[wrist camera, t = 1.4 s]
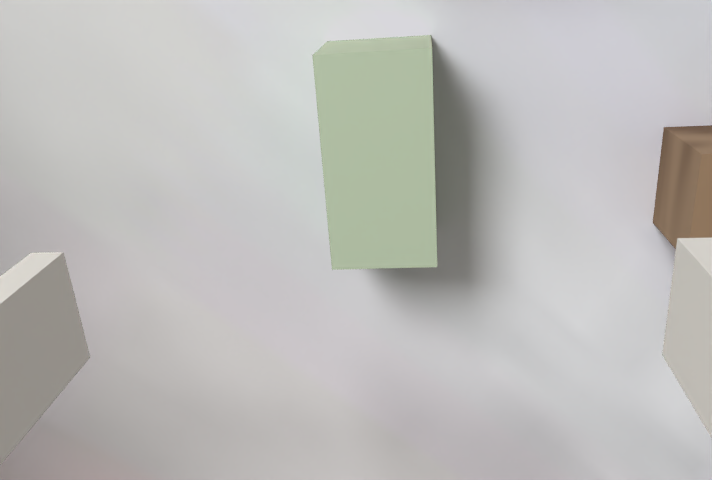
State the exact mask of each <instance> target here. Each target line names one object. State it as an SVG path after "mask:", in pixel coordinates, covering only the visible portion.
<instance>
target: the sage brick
mask: <svg viewBox="0 0 712 480" xmlns="http://www.w3.org/2000/svg"><path fill="white" fill-rule="evenodd" d="M313 66H314V77H315V88H316V99H317V110H318V120H319V131H320V142H321V153H322V164H323V175H324V186H325V197H326V208H327V219H328V230H329V241H330V252H331V263H332V270H333V269H377V268H422V267H437V234H436V192H435V150H434V107H433V65H432V42H431V35H423V36H407V37H391V38H374V39H358V40H342V41H327V42H326V43H325V44H324V45H323V46H322V47H321V48H320V49H319V50H317V51H316V52H315V53H314V54H313Z"/></svg>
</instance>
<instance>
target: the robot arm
mask: <svg viewBox="0 0 712 480" xmlns="http://www.w3.org/2000/svg"><path fill="white" fill-rule="evenodd" d="M662 356H663V357H664V359H665V361H666V362H667V364H668V366H669V367H670V369H671V371H672V372H673V374H674V376H675V377H676V379H677V381H678V382H679V384H680V386H681V387H682V389H683V391H684V392H685V394H686V396H687V398H688V399H689V401H690V403H691V404H692V406H693V408H694V409H695V411H696V413H697V414H698V416H699V418H700V419H701V421H702V423H703V424H704V426H705V428H706V429H707V431H708V433H709V434H710V436H711V438H712V237H711V238H677V245H676V252H675V260H674V268H673V275H672V283H671V291H670V298H669V306H668V314H667V321H666V329H665V337H664V345H663V352H662ZM89 358H90V354H89V351H88V347H87V343H86V339H85V335H84V331H83V327H82V323H81V319H80V315H79V311H78V307H77V303H76V300H75V296H74V292H73V288H72V284H71V280H70V276H69V272H68V268H67V264H66V260H65V256H64V253H63V252H47V253H30V254H29V255H28V256H26V257H25V258H24V259H22V260H21V261H20V262H19V263H17V264H16V265H15V266H13V267H12V268H11V269H9V270H8V271H7V272H5V273H4V274H3V275H1V276H0V465H1V464H2V463H3V461H4V460H5V459H6V458H7V457H8V455H9V454H10V453H11V452H12V451H13V449H14V448H15V447H16V446H17V445H18V443H19V442H20V441H21V440H22V439H23V437H24V436H25V435H26V434H27V433H28V431H29V430H30V429H31V428H32V427H33V425H34V424H35V423H36V422H37V421H38V419H39V418H40V417H41V416H42V415H43V413H44V412H45V411H46V410H47V409H48V407H49V406H50V405H51V404H52V403H53V401H54V400H55V399H56V398H57V397H58V395H59V394H60V393H61V392H62V391H63V389H64V388H65V387H66V386H67V385H68V383H69V382H70V381H71V380H72V378H73V377H74V376H75V375H76V374H77V372H78V371H79V370H80V369H81V368H82V366H83V365H84V364H85V363H86V362H87V360H88V359H89Z"/></svg>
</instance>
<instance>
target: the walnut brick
mask: <svg viewBox="0 0 712 480" xmlns="http://www.w3.org/2000/svg"><path fill="white" fill-rule="evenodd" d="M653 223H654V224H655V226H656V227H657V228H658V229H659V230H660V231H661V233H662V234H663V235H664V236H665V237H666V238H667V240H668V241H669V242H670V243H671V244H672V245H673V246H674V248H675V249H676V245H677V238H711V237H712V126H686V127H664V132H663V140H662V149H661V157H660V166H659V174H658V183H657V191H656V199H655V208H654V216H653Z"/></svg>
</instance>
